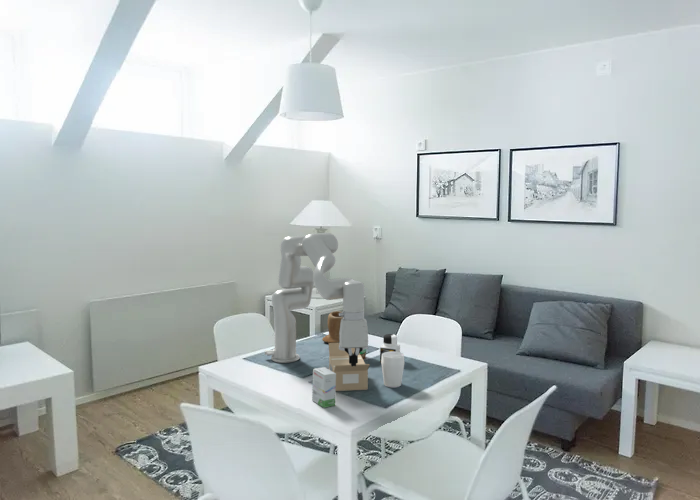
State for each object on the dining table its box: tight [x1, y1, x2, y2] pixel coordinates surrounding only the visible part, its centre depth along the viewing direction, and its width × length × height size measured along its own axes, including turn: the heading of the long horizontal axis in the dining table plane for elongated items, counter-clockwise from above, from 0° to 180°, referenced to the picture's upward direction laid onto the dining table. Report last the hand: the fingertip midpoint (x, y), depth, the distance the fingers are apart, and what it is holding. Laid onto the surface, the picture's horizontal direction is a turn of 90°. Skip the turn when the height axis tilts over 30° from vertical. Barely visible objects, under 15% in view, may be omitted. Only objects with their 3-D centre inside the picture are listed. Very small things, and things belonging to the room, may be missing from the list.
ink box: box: [311, 366, 337, 409], centre depth 190 cm, size 9×5×12 cm, turn 33°
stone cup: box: [321, 310, 343, 344], centre depth 271 cm, size 15×12×15 cm
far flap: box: [328, 342, 360, 356], centre depth 223 cm, size 13×6×1 cm
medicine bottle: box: [379, 333, 401, 363], centre depth 238 cm, size 7×7×12 cm
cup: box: [380, 351, 405, 389], centre depth 209 cm, size 9×9×12 cm
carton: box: [328, 355, 369, 392], centre depth 212 cm, size 13×18×8 cm
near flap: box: [334, 363, 371, 372], centre depth 200 cm, size 13×6×1 cm
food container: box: [360, 349, 367, 361], centre depth 243 cm, size 12×6×10 cm, turn 168°
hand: (353, 365), depth 195 cm, fingers closed
